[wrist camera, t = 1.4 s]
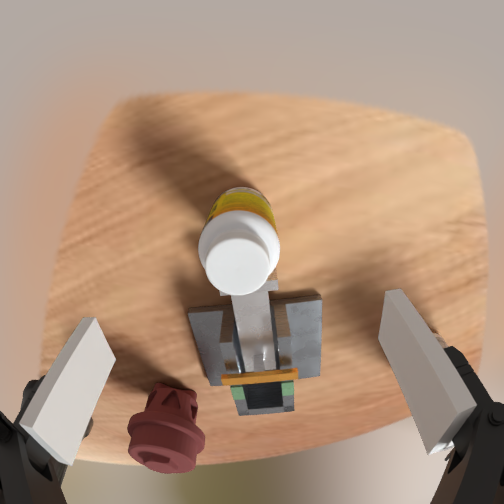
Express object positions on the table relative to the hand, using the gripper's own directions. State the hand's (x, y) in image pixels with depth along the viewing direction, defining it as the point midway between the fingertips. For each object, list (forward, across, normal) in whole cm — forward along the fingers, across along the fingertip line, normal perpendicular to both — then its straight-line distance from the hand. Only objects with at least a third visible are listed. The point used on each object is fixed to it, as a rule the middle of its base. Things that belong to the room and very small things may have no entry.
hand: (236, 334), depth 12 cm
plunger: (+15, 0, -10) cm, 18 cm away
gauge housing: (+16, 0, -16) cm, 22 cm away
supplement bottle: (+16, 0, 0) cm, 16 cm away
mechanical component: (+16, -13, -24) cm, 32 cm away
